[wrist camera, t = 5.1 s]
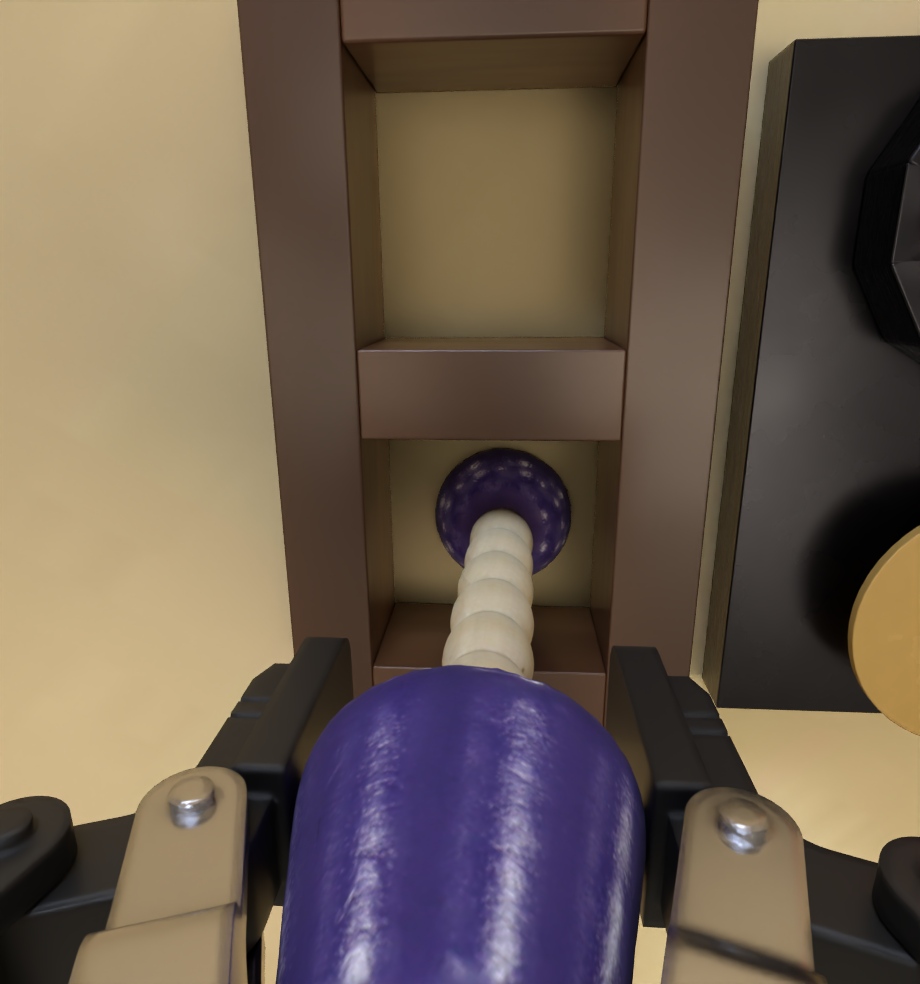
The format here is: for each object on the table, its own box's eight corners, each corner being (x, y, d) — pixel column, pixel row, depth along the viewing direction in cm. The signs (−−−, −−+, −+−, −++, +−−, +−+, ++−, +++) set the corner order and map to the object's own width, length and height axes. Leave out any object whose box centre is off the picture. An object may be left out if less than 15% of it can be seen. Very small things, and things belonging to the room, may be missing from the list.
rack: (333, 659, 23) (299, 731, 20) (289, 1, 18) (229, -77, 14) (653, 668, 23) (682, 746, 19) (711, -14, 17) (770, -101, 13)
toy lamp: (472, 606, 23) (393, 1384, 7) (387, 495, 22) (55, 1088, 6) (596, 529, 21) (859, 1231, 6) (513, 409, 21) (540, 838, 5)
